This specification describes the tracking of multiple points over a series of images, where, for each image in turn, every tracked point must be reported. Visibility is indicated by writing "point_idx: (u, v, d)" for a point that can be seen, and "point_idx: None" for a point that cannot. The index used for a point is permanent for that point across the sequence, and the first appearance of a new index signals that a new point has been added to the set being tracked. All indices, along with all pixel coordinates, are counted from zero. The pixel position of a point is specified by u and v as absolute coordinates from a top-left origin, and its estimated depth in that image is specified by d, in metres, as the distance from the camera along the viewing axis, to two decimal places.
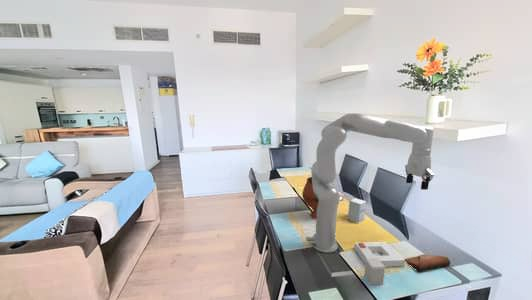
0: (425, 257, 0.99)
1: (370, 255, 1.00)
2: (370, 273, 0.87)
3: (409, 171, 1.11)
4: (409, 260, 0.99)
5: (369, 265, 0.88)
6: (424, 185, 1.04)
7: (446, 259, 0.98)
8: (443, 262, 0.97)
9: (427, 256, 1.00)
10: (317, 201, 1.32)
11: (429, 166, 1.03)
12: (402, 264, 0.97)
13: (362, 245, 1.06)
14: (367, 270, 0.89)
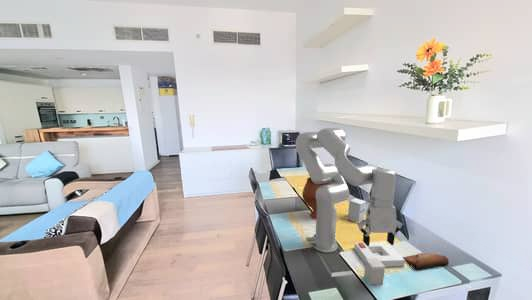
0: (423, 255, 1.00)
1: (370, 255, 1.00)
2: (370, 273, 0.87)
3: (377, 231, 0.82)
4: (407, 258, 1.01)
5: (369, 265, 0.88)
6: None
7: (444, 258, 0.99)
8: (441, 261, 0.98)
9: (425, 255, 1.01)
10: None
11: None
12: (402, 264, 0.97)
13: (362, 245, 1.06)
14: (367, 270, 0.89)
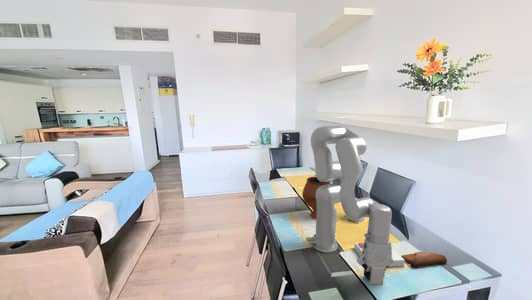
0: (421, 254, 1.01)
1: None
2: (370, 273, 0.87)
3: (373, 265, 0.85)
4: (405, 256, 1.02)
5: None
6: None
7: (443, 257, 0.99)
8: (439, 260, 0.99)
9: (423, 253, 1.02)
10: None
11: None
12: (402, 264, 0.97)
13: (362, 245, 1.06)
14: None
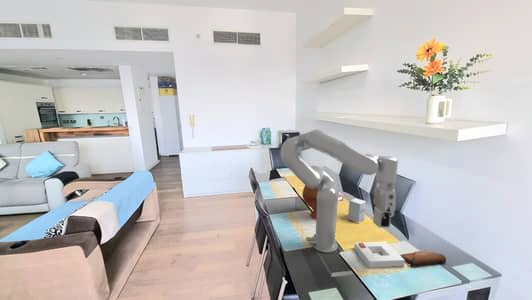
0: (420, 253, 1.01)
1: (370, 255, 1.00)
2: None
3: None
4: (404, 255, 1.03)
5: None
6: None
7: (442, 256, 1.00)
8: (438, 259, 0.99)
9: (423, 253, 1.02)
10: None
11: None
12: (402, 264, 0.97)
13: (362, 245, 1.06)
14: None
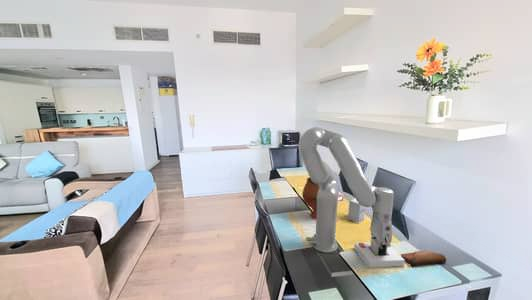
0: (420, 253, 1.01)
1: (370, 255, 1.00)
2: None
3: None
4: (404, 255, 1.03)
5: None
6: None
7: (442, 256, 1.00)
8: (438, 259, 0.99)
9: (422, 252, 1.02)
10: None
11: None
12: (402, 264, 0.97)
13: (362, 245, 1.06)
14: None
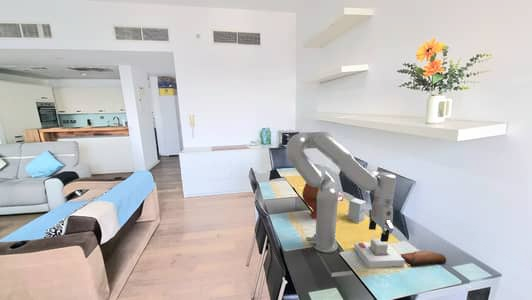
0: (420, 253, 1.01)
1: (370, 255, 1.00)
2: (385, 251, 1.01)
3: None
4: (404, 255, 1.03)
5: (383, 246, 1.00)
6: None
7: (442, 256, 1.00)
8: (438, 259, 0.99)
9: (422, 252, 1.02)
10: None
11: None
12: (402, 264, 0.97)
13: (362, 245, 1.06)
14: (380, 252, 1.01)
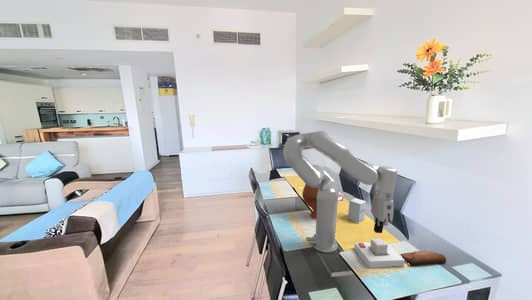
0: (420, 253, 1.02)
1: (370, 255, 1.00)
2: (385, 251, 1.01)
3: None
4: (404, 255, 1.03)
5: (383, 246, 1.00)
6: None
7: (442, 256, 1.00)
8: (438, 259, 0.99)
9: (422, 252, 1.02)
10: None
11: None
12: (402, 264, 0.97)
13: (362, 245, 1.06)
14: (380, 252, 1.01)
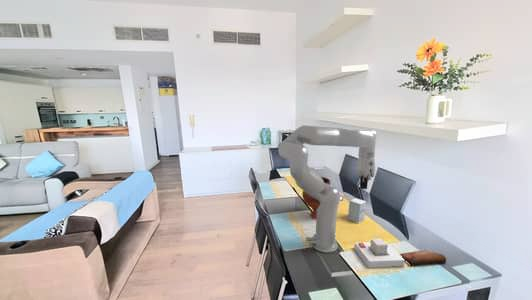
0: (420, 253, 1.02)
1: (370, 255, 1.00)
2: (385, 251, 1.01)
3: None
4: (403, 254, 1.03)
5: (383, 246, 1.00)
6: None
7: (442, 256, 1.00)
8: (438, 259, 0.99)
9: (422, 252, 1.02)
10: (317, 201, 1.32)
11: None
12: (402, 264, 0.97)
13: (362, 245, 1.06)
14: (380, 252, 1.01)
